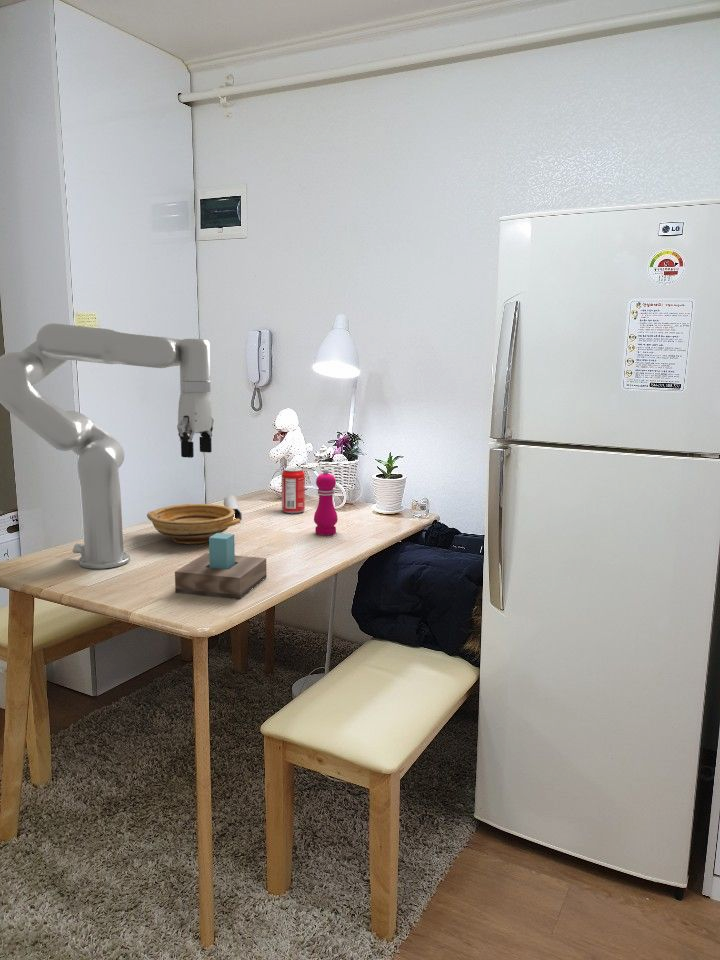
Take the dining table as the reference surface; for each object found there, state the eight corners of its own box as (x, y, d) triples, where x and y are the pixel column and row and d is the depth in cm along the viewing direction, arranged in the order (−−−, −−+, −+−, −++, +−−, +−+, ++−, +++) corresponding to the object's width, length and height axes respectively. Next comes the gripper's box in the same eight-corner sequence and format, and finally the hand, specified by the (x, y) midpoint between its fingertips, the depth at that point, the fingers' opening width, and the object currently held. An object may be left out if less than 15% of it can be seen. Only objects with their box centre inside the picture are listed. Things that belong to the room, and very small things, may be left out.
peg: (210, 582, 171) (208, 537, 169) (218, 577, 175) (217, 532, 173) (227, 584, 170) (226, 538, 168) (235, 578, 174) (234, 534, 172)
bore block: (175, 592, 167) (174, 571, 166) (206, 572, 182) (206, 552, 182) (240, 599, 163) (239, 577, 162) (266, 577, 179) (266, 558, 178)
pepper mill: (323, 537, 217) (324, 471, 214) (309, 532, 222) (309, 468, 219) (342, 533, 222) (342, 468, 218) (327, 528, 227) (327, 465, 224)
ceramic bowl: (257, 533, 220) (257, 508, 219) (217, 554, 198) (217, 526, 196) (172, 525, 229) (171, 500, 228) (125, 544, 207) (124, 516, 205)
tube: (220, 496, 255) (223, 511, 231) (234, 491, 256) (239, 505, 232) (225, 510, 257) (228, 526, 233) (240, 505, 257) (244, 521, 233)
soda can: (285, 515, 245) (285, 471, 242) (279, 510, 252) (278, 467, 249) (307, 513, 248) (307, 470, 245) (300, 508, 255) (300, 466, 252)
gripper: (198, 386, 194) (199, 449, 197) (164, 389, 178) (166, 458, 181) (224, 387, 192) (224, 451, 195) (192, 390, 176) (193, 460, 179)
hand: (196, 454), depth 188 cm, fingers open, 9 cm apart
